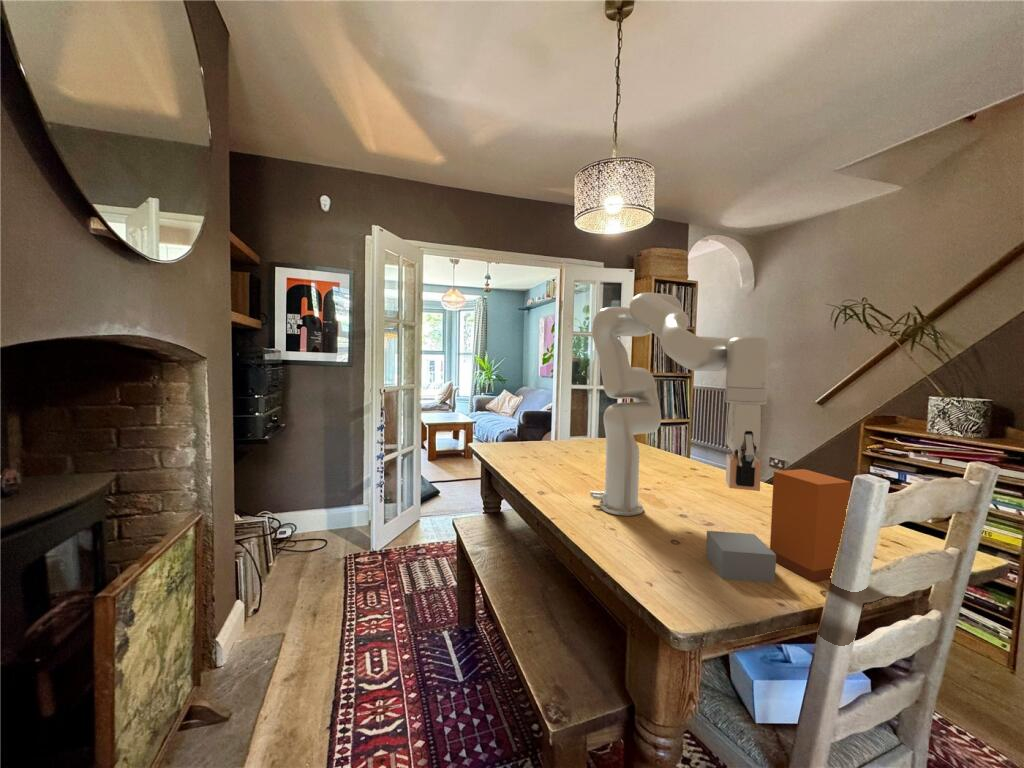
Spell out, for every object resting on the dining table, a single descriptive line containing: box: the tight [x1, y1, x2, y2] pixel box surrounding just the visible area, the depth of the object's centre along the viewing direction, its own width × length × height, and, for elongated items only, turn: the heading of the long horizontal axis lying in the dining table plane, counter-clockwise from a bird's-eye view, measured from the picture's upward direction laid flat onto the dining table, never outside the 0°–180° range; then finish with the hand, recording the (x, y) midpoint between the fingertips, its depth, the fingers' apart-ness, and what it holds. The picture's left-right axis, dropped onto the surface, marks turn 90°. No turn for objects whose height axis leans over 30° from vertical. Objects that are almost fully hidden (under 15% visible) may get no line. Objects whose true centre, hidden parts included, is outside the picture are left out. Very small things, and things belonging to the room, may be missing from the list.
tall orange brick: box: [769, 468, 852, 582], centre depth 88 cm, size 10×9×20 cm
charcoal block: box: [705, 530, 777, 584], centre depth 88 cm, size 10×10×6 cm
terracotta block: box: [725, 453, 762, 492], centre depth 86 cm, size 6×6×6 cm
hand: (742, 480), depth 86 cm, fingers closed on terracotta block, 5 cm apart
